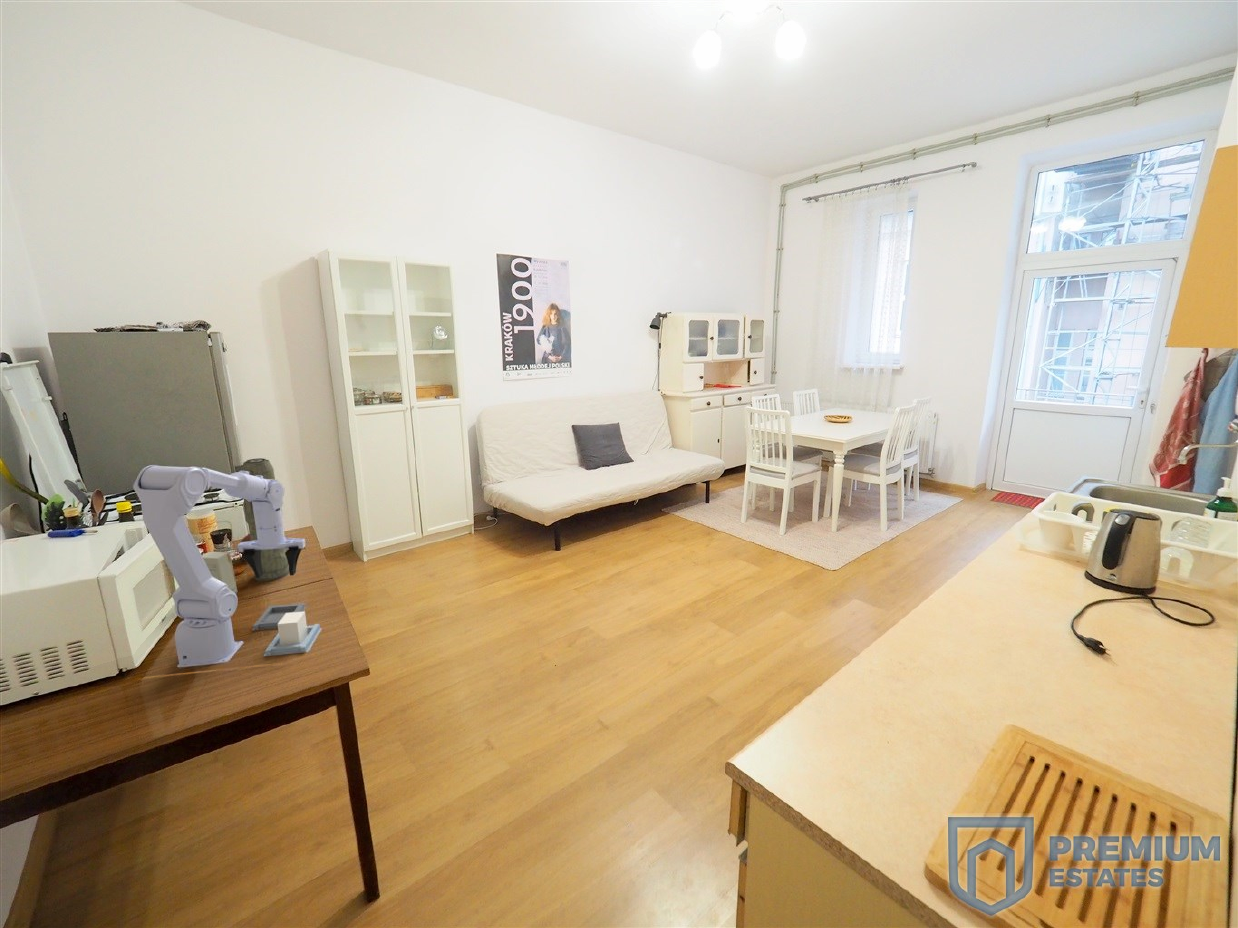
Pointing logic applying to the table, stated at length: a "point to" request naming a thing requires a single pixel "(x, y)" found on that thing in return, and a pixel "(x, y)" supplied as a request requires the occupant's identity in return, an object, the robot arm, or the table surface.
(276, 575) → the olive tall rounded block
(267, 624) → the rear socket
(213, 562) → the skincare box
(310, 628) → the front socket
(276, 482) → the robot arm
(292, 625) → the white rectangular block
